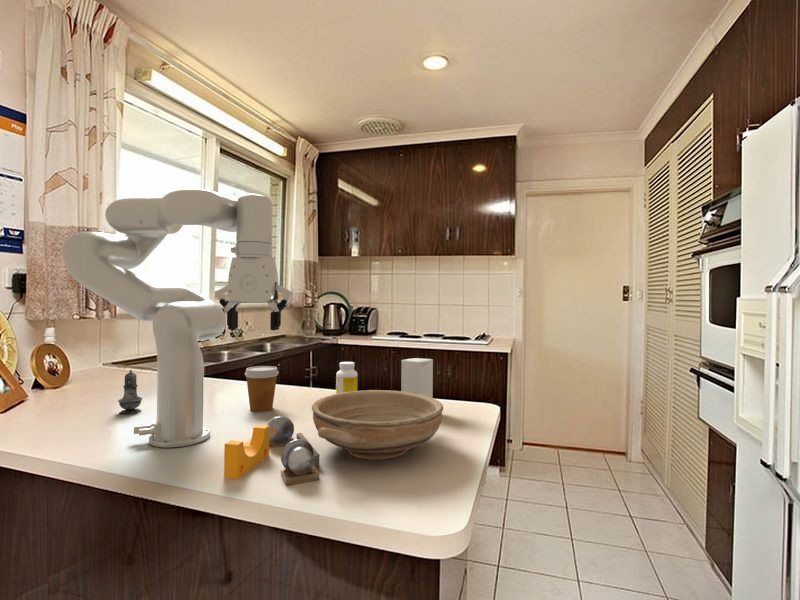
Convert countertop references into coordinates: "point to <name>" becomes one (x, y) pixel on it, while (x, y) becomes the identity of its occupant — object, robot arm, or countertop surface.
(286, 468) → the pipe run
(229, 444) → the pipe clamp
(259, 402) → the disposable coffee cup
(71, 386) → the countertop surface
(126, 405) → the salt shaker
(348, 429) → the ceramic bowl
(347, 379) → the supplement bottle
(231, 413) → the countertop surface
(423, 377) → the skincare box
